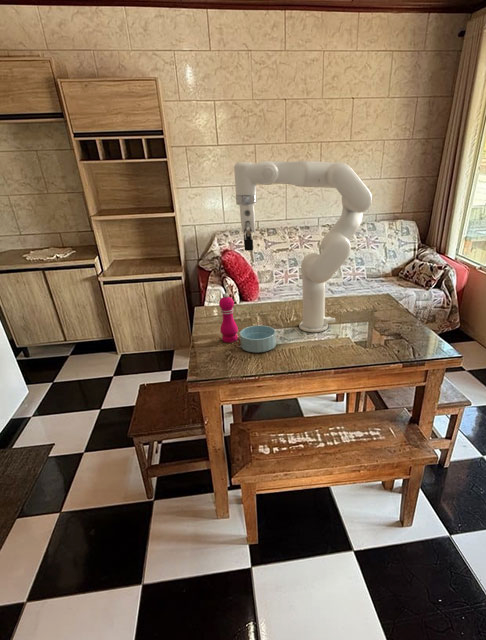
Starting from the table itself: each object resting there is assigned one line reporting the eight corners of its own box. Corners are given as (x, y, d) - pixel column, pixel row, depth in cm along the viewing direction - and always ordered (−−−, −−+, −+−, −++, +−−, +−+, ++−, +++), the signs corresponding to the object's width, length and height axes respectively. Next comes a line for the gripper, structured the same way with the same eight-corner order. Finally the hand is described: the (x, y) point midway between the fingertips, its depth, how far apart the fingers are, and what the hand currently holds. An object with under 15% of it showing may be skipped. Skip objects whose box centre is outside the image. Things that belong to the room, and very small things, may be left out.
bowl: (273, 337, 171) (272, 323, 168) (278, 351, 159) (278, 337, 156) (239, 340, 169) (238, 327, 166) (242, 355, 157) (241, 341, 154)
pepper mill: (236, 343, 167) (231, 296, 157) (219, 342, 168) (213, 296, 158) (240, 336, 173) (236, 290, 163) (224, 335, 174) (219, 290, 165)
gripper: (257, 202, 142) (259, 252, 151) (255, 197, 157) (257, 243, 166) (236, 203, 142) (239, 253, 150) (236, 197, 157) (238, 243, 165)
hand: (248, 247), depth 158 cm, fingers open, 9 cm apart
